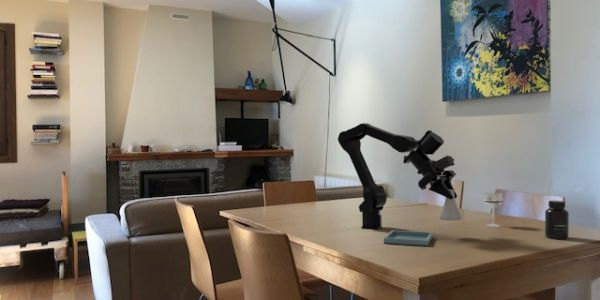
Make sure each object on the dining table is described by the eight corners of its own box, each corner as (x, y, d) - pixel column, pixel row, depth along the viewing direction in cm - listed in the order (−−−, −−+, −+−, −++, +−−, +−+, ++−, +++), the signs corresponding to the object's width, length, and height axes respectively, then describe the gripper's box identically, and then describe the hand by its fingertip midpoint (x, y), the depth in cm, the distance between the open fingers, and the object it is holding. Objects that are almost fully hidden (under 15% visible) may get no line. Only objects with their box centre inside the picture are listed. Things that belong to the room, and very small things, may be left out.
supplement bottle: (560, 240, 149) (559, 203, 149) (540, 237, 155) (540, 200, 155) (573, 238, 152) (573, 201, 152) (553, 234, 158) (553, 199, 158)
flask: (462, 221, 152) (461, 190, 152) (439, 221, 155) (438, 190, 154) (461, 217, 159) (461, 188, 159) (439, 217, 162) (438, 188, 161)
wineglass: (499, 224, 181) (499, 192, 180) (505, 227, 174) (505, 194, 174) (481, 224, 181) (481, 193, 181) (486, 227, 174) (486, 194, 174)
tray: (383, 243, 149) (383, 237, 149) (391, 235, 162) (391, 230, 162) (427, 246, 144) (427, 240, 144) (432, 237, 157) (432, 232, 157)
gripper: (426, 148, 152) (460, 184, 145) (450, 147, 166) (481, 180, 159) (404, 171, 157) (436, 207, 150) (429, 168, 171) (459, 201, 164)
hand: (454, 198), depth 156 cm, fingers closed on flask, 3 cm apart
